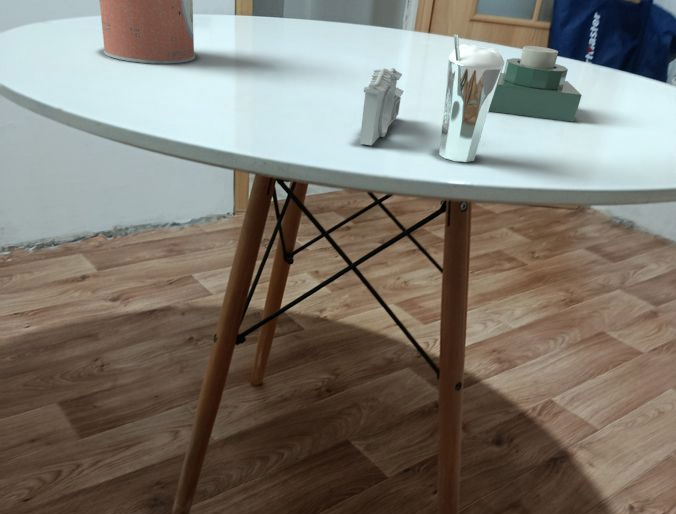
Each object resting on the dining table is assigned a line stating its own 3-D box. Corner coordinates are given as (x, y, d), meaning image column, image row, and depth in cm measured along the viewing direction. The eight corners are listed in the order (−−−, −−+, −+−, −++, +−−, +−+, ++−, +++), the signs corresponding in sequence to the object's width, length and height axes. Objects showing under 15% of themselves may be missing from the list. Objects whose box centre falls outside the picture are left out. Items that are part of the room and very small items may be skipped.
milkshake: (415, 152, 57) (435, 29, 51) (455, 146, 60) (479, 29, 54) (451, 168, 54) (477, 39, 49) (492, 161, 57) (521, 39, 51)
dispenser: (560, 106, 80) (572, 63, 77) (573, 121, 74) (587, 76, 71) (482, 96, 81) (491, 53, 78) (487, 111, 74) (498, 64, 71)
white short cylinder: (550, 67, 76) (555, 48, 75) (556, 73, 73) (561, 53, 72) (516, 63, 76) (521, 44, 75) (521, 68, 73) (526, 49, 72)
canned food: (193, 66, 78) (190, -48, 72) (97, 59, 76) (84, -59, 70) (196, 50, 87) (193, -53, 81) (110, 43, 85) (100, -63, 79)
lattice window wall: (383, 116, 67) (391, 55, 64) (400, 119, 67) (409, 58, 63) (355, 145, 57) (363, 75, 54) (374, 148, 57) (384, 78, 53)
